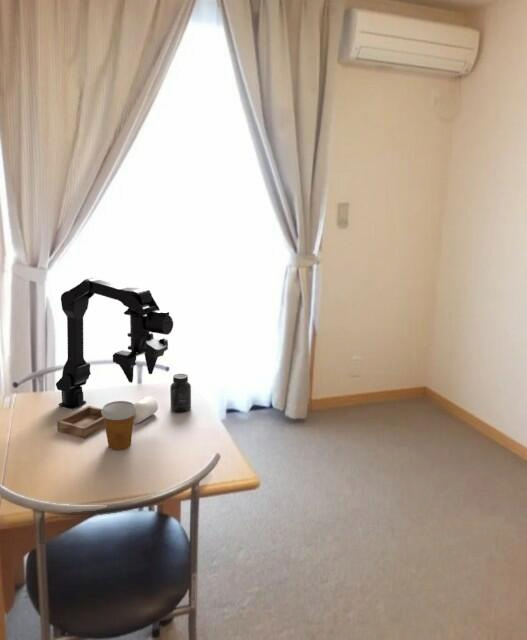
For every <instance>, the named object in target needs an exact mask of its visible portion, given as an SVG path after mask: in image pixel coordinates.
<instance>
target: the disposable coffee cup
mask: <svg viewBox="0 0 527 640" xmlns="http://www.w3.org/2000/svg"><path fill="white" fill-rule="evenodd" d="M102 409H103V410H102V411H101V414H102V415H103V418H104V423H105V433H106V439H107V445H108V446H107V447H108V448H109V449H110V450H113V451H122V450H123V451H124V450H127V449H129V448H130V447H131V446H132V440H133V439H132V435H133V429H134V424H133V420H134V414H135V412H136V409H135V407H134V403H133V402H131V401H127V400H126V401H125V400H116V401H115V400H114V401H111V402H108V403H106V404H104V405H103V406H102Z"/></svg>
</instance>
